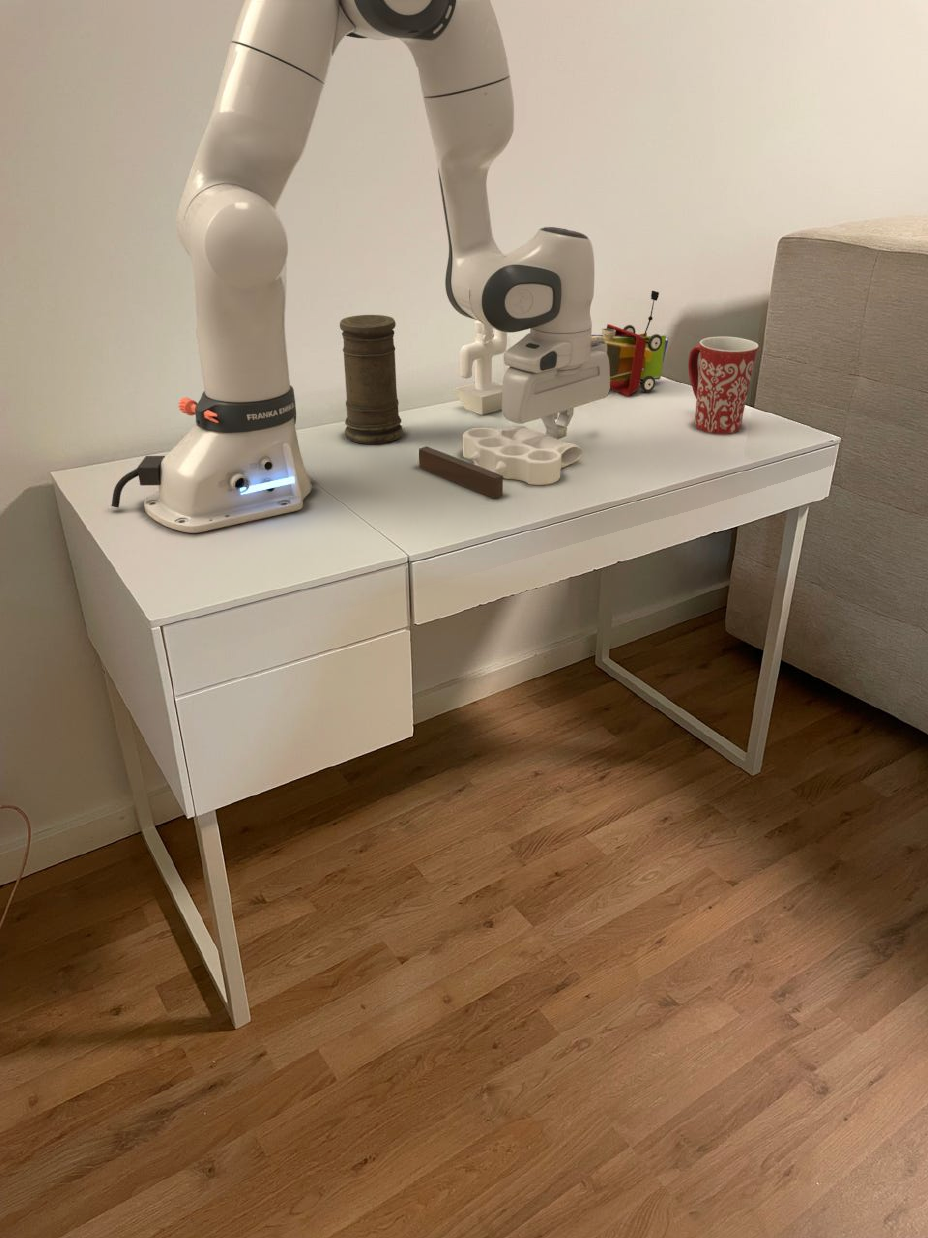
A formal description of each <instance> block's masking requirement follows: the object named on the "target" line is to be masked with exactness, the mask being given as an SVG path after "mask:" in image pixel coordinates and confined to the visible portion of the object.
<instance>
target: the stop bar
mask: <svg viewBox="0 0 928 1238" xmlns="http://www.w3.org/2000/svg"><path fill="white" fill-rule="evenodd" d="M418 463H419V465H418V466H419V467H418V468H419V469H421V470H424V471H426V472H429V473H430V474H433V475H436V476H438V477H441V478H443V479H445V480H448V481H450V482H453V483H455V484H457V485H460V486H462V487H464V488H467V489H469V490H471V491H474V492H477V493H480V494H482V495H485V496H487V497H489V498H491V499H493V500H496V499H499V498H502V497H503V496H504V495H503V494H504V493H503V492H504V478H503V476H502V475H500V474H497V473H495V472H492V471H489V470H487V469H484V468H482V467H479V466H477V465H474V463H471V462H468V461H466V460H463V459H461V458H458V457H456V456H454V455H450V454H448V453H446V452H443V451H440V450H437V449H435V448H433V447H431V446H427V445H425V446H422V447H419V448H418Z"/></svg>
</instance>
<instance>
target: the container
mask: <svg viewBox="0 0 928 1238" xmlns="http://www.w3.org/2000/svg"><path fill="white" fill-rule="evenodd" d="M396 326H397V322H396V320H395V319H394V318H393V317H392V316H388V315H383V314H360V315H351V316H348V317H344V318H342V319H341V320H340V322H339V328H340V330H341V331H342V333H341V336H342V339H343V348H342V352H343V362H344V363H343V364H344V375H345V376H344V377H345V379H344V380H345V393H346V400H345V407H346V419H345V421H344V424H345V426H346V427H345V430H344V434H345V437H346V439H347V440H348V441H350V442H354V443H357V444H363V445H380V444H386V443H391V442H394V441H396V440H398V439H400V438H401V437H402V436H403V432H404V430H403V426H402V425H401V423H402V418H401V416H400V415H399V414H400V413H399V403H400V402H399V399H398V392H397V391H398V390H397V371H396V352H395V351H396V346H395V342H394V337H395V331H394V329H395V328H396Z"/></svg>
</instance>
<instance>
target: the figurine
mask: <svg viewBox="0 0 928 1238" xmlns="http://www.w3.org/2000/svg"><path fill="white" fill-rule="evenodd" d="M474 336H475V337H474V339H475V340H474V342H471V343H466V344H464V345H463V346H462V347H461V349H460V351H459V376H460V377H461V378H463V379H471V378H472V376H473V364H475V368H474V371H475V372H474V373H475V374H474V375H475V376H474V382H471V383H467V384H463V385H459V386H455V387H453V390H454V392H455V394H456V395H457V397H458V399H459V400H460V402H461V404H462V405H463V408H464V409H465V410H466V411H470V412H473V413H475V414H479V415H481V416H484V415H487V414H491V413H495V412H498V411H502V386H503V384H500V383H496V382H493V357H495V356H499V355H502V354H504V353H505V352H506V350H507V347H508V332H502V331H498V330H496V329H494V328H492V327H490V326H487V325H485V324H483V323H482V322H480V321H478V320H474ZM474 361H475V362H474Z"/></svg>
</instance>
